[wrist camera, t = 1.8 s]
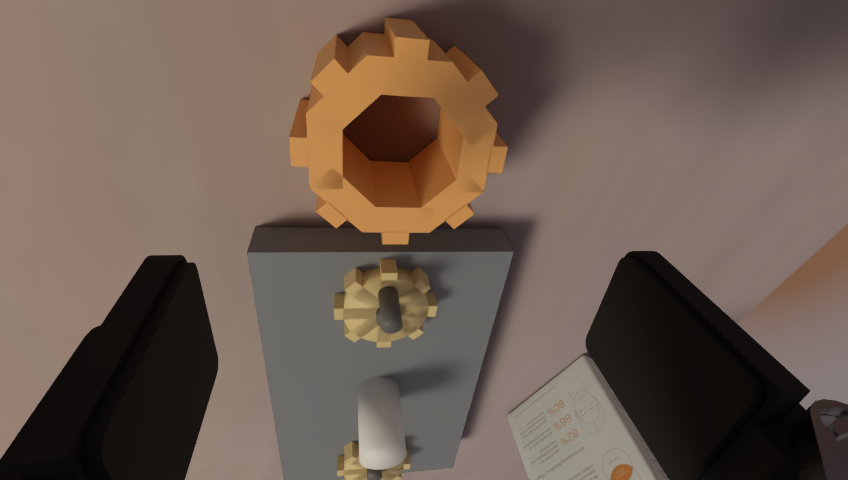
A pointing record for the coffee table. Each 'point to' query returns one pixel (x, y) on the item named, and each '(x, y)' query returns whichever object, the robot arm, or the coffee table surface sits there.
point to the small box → (580, 431)
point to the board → (373, 344)
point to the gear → (396, 181)
